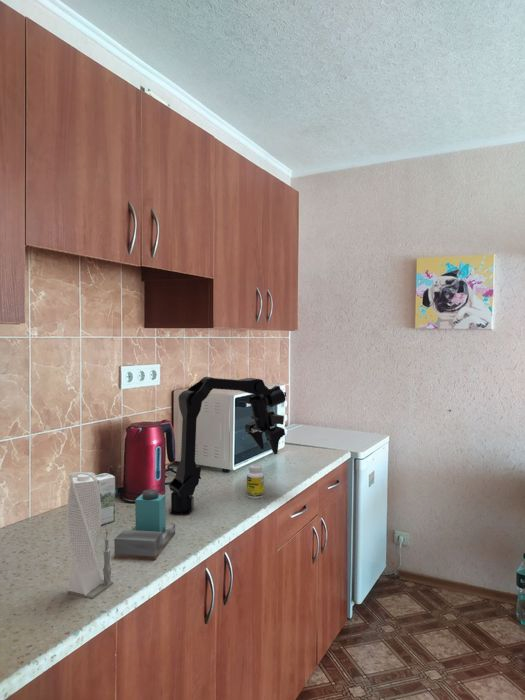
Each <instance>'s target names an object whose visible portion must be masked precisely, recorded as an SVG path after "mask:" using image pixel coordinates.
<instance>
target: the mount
mask: <svg viewBox="0 0 525 700" xmlns="http://www.w3.org/2000/svg"><path fill="white" fill-rule="evenodd" d="M175 535H176V523H170V524H169V525H168V527H167V528H166V530H165V532H164V533H163V532H155V531H137V530H136V525H134V526H133V527H132V529H123V530H122V531H121V532H119V534H118V535H117V536H115V538H114V543H113V544H114V558H115V559H131V560H147V561H156V560H157V558H158V557H159V555H160V554H161V553H162V552H163V550H164V549H165V548H166V547H167V545H168V544H169V542H171V539H172V538H173V537H174V536H175Z"/></svg>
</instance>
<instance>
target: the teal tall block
mask: <svg viewBox="0 0 525 700" xmlns="http://www.w3.org/2000/svg"><path fill="white" fill-rule="evenodd" d="M134 502H135V503H134V506H135V511H134V512H135V526H136V530H137V531H155V532H163V533H164V532H165V530H166V529H167V528H166V524H167V523H166V494H159V490H158V489H154V488H153V489H152V488H151V489H150V488H149V489H146V490H143V491H142V494H140V495H139V496H138V497H136V499H135V501H134Z"/></svg>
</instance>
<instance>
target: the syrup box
mask: <svg viewBox="0 0 525 700" xmlns="http://www.w3.org/2000/svg"><path fill="white" fill-rule="evenodd" d="M95 478H96V480H97V483H98V488H99V494H100V500H101V526H104V525H107V524H111V523H112V522H115V521H116V477H115V475H113V474H110V473H107V472H104V473H100V474H95Z"/></svg>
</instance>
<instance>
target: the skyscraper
mask: <svg viewBox="0 0 525 700" xmlns="http://www.w3.org/2000/svg"><path fill="white" fill-rule="evenodd" d="M95 475H96V473H94V472H93V471H92V472H91V471H90V472H88V471H87V472H86V471H74V472H71V473H69V474H68V478H69V480H70V481H69V482H70V483H69V487H68V488H69V489H68V495H67V496H68V497H67V504H66V531H67V538H68V546H69V550H70V553H71V558H72V562H71V569H70V575H69V580H68V586H67V593H68V594H71V595H76V596H80V597H84V598H88V599H91V600H92V599H94V598H96V597H97V596H98V595H100V594H101V593H103V592H104V591H105V590H106V589H108V588H109V587H111V586H113V584H114V582H113V581H112V580H111V575H112V567H111V548H109V537H108V531H105V539H104V541H105V545H104V546H105V548H104V549H103V561H104V563H103V569H102V572H103V579H102V578H101V573H100V568H99V566H98V560H97V557H96V550H97V546H98V542H99V537H100V531H101V526H102V525H101V500H100V494H99V488H98V483H97V480H96V478H95Z"/></svg>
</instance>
